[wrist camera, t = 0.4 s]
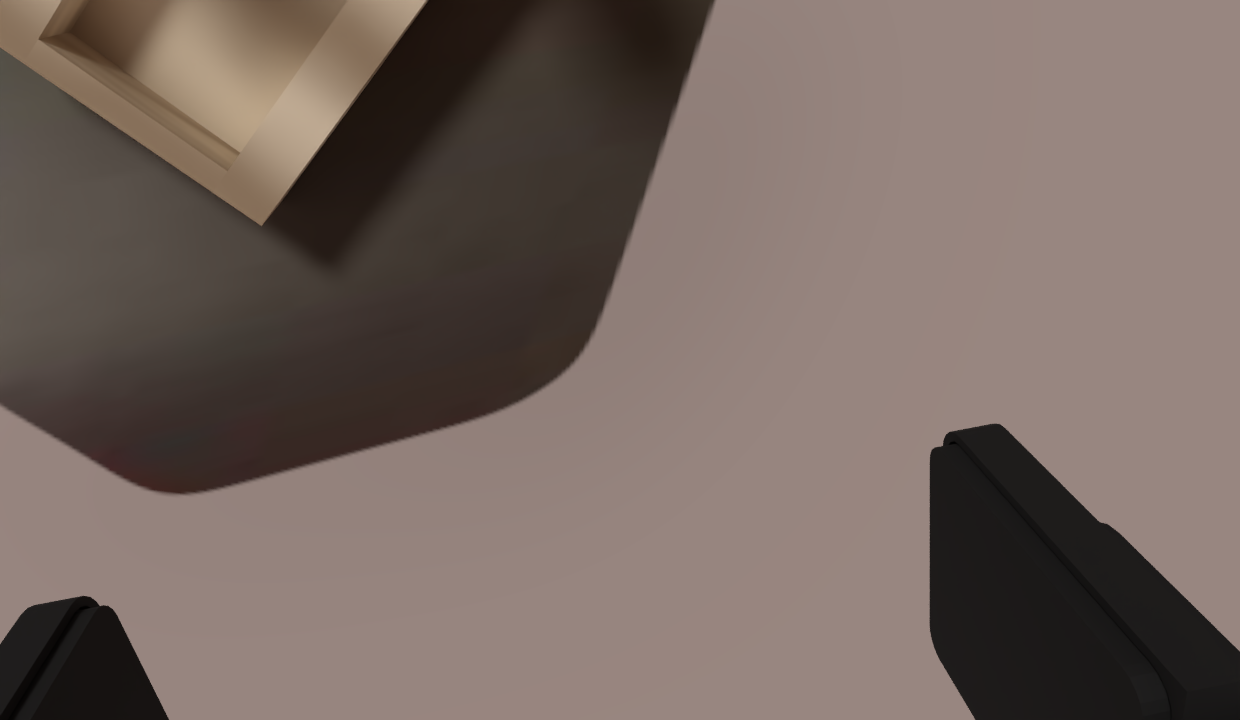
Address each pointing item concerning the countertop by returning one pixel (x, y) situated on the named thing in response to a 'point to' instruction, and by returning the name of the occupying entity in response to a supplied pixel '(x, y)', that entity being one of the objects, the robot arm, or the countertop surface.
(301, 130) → the bottle rest
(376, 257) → the countertop surface
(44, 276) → the countertop surface
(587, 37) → the countertop surface
